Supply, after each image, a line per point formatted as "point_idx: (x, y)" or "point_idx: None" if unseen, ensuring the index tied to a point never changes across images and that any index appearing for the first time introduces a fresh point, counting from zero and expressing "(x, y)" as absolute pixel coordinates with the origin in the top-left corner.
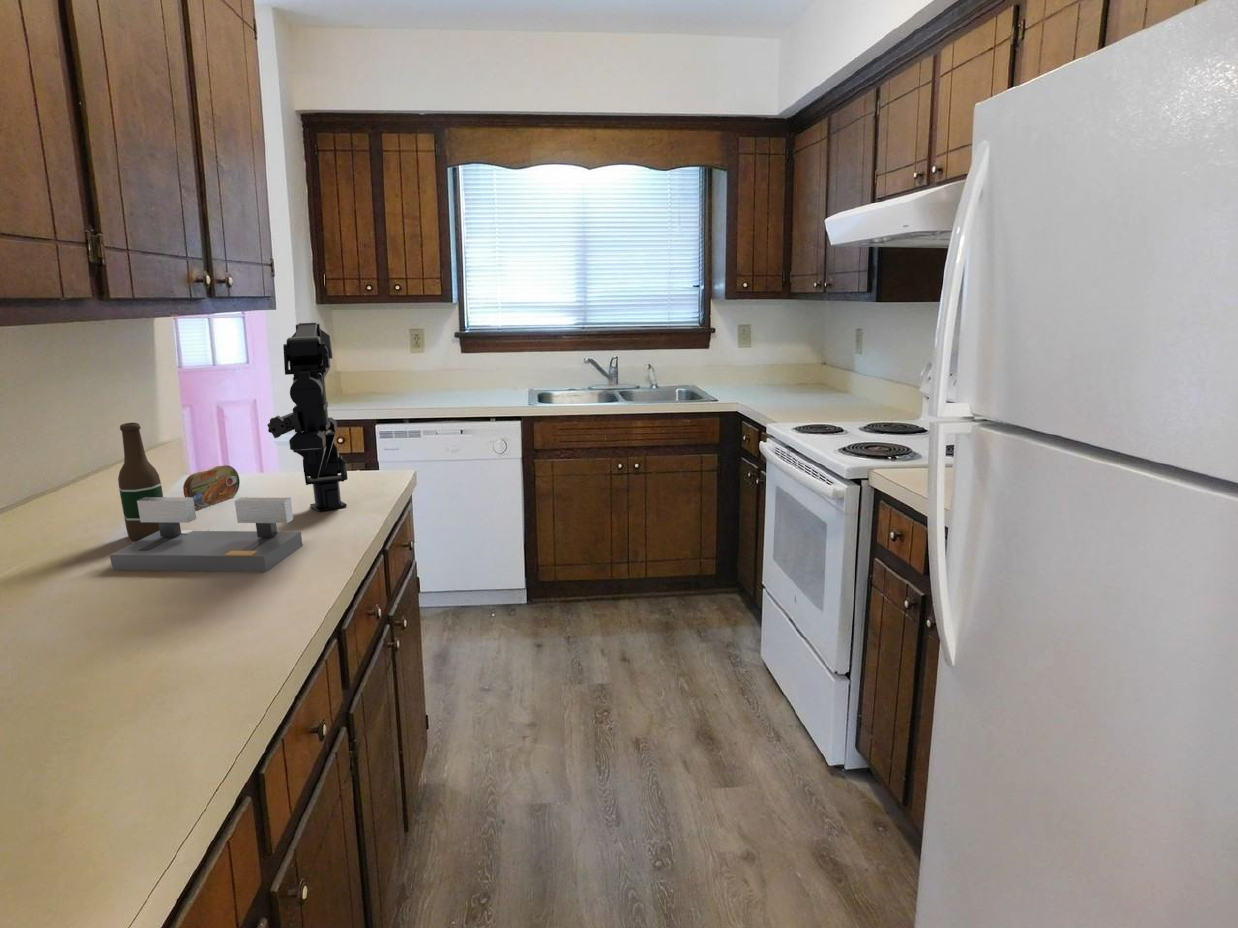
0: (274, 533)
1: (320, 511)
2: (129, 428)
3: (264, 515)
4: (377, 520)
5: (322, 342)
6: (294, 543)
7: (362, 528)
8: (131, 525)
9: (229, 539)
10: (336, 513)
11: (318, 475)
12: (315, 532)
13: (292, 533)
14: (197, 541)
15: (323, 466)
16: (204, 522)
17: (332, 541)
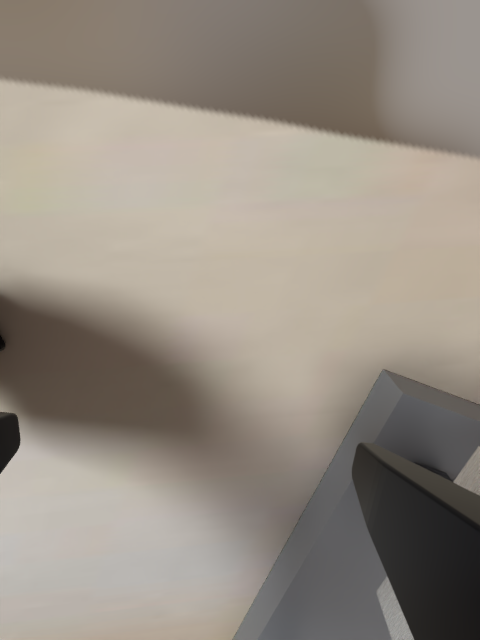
0: (436, 473)
1: (4, 344)
2: None
3: None
4: (164, 114)
5: None
6: (438, 397)
7: (258, 177)
8: None
9: (382, 570)
10: (28, 287)
11: (390, 452)
12: (247, 342)
13: (411, 417)
14: (360, 631)
15: (10, 431)
16: (55, 613)
17: (376, 280)
